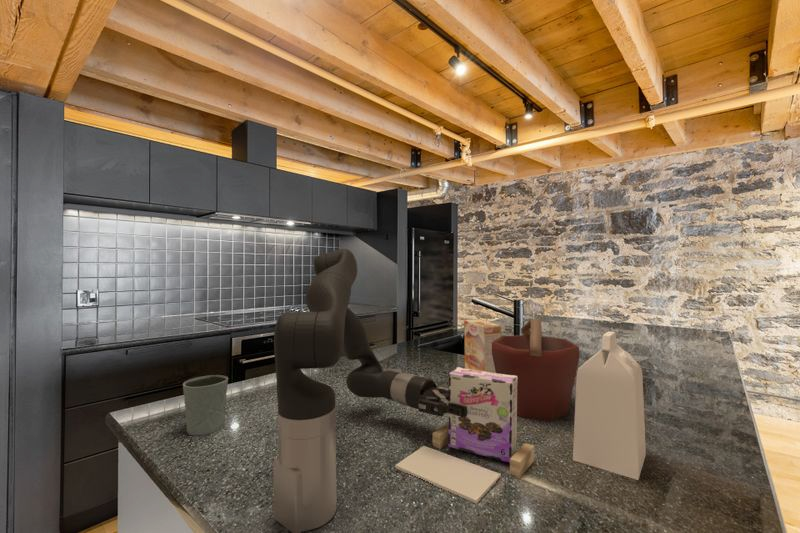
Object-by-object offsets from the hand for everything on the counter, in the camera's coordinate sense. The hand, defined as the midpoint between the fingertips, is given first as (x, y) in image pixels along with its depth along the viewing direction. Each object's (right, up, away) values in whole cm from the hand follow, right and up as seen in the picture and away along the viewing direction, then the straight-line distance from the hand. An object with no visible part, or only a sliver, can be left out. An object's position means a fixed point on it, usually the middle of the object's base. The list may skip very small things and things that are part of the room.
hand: (474, 407), depth 80 cm
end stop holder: (+1, -10, -1) cm, 10 cm away
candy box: (+2, -9, -1) cm, 9 cm away
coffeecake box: (+14, -9, +55) cm, 57 cm away
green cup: (-66, -10, +13) cm, 68 cm away
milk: (+28, -9, -3) cm, 30 cm away
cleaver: (-20, -10, +48) cm, 53 cm away
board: (-7, -10, -8) cm, 14 cm away
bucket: (+22, -9, +23) cm, 34 cm away
